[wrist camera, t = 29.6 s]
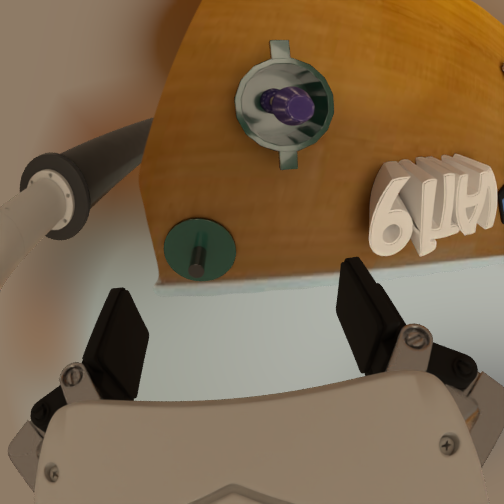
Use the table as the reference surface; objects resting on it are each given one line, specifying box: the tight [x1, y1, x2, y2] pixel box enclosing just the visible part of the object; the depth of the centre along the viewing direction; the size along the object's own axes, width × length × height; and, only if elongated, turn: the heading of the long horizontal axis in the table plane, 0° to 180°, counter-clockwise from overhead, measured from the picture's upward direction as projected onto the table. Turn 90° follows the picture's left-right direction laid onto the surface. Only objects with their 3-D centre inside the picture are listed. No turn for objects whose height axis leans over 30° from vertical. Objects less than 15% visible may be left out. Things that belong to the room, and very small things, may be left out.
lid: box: [164, 218, 236, 281], centre depth 49 cm, size 14×14×7 cm
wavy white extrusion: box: [369, 153, 497, 256], centre depth 43 cm, size 35×16×10 cm, turn 100°
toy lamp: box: [260, 87, 314, 126], centre depth 31 cm, size 5×5×17 cm
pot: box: [234, 40, 334, 170], centre depth 34 cm, size 13×18×10 cm
